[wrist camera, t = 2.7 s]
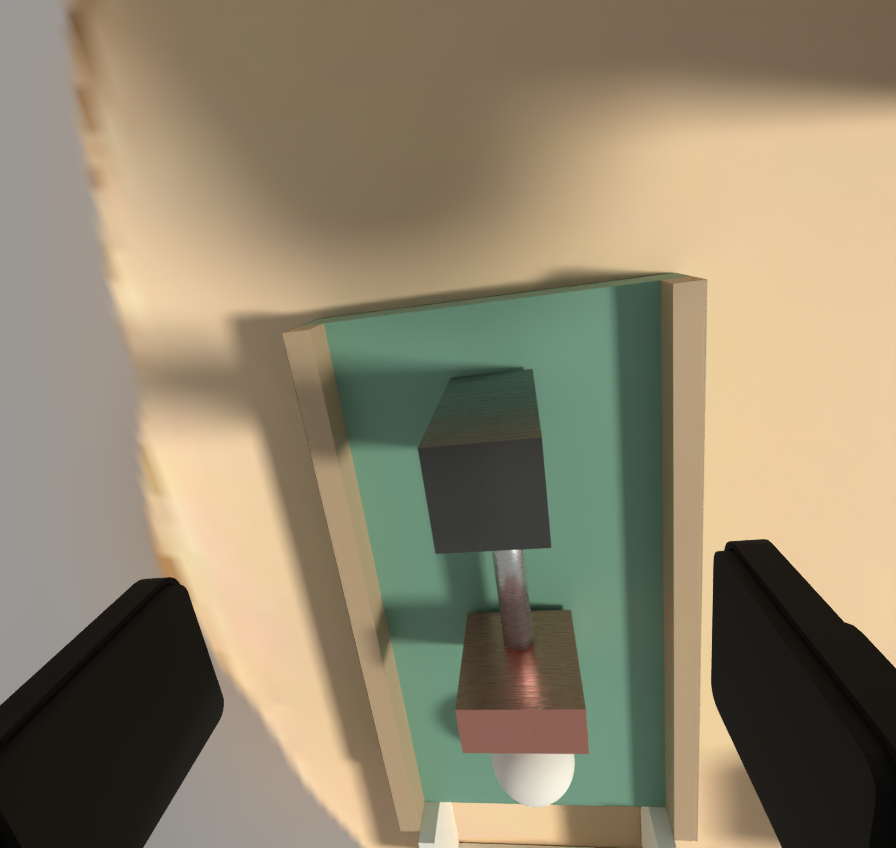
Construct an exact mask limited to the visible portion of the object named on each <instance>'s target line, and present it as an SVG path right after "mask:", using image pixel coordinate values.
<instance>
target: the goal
mask: <svg viewBox="0 0 896 848" xmlns="http://www.w3.org/2000/svg"><path fill="white" fill-rule="evenodd" d="M641 837H642V848H676V844H675V841H674V837H673V833H672V829H671V826H670V822H669V818H668V814H667V811H666V807H641ZM418 844H419V848H593V847H565V846H536V845H508V844H480V843H459V839H458V834H457V829H456V823H455V818H454V813H453V807H452V802H425V804H424V810H423V816H422V822H421V829H420V835H419V841H418Z"/></svg>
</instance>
